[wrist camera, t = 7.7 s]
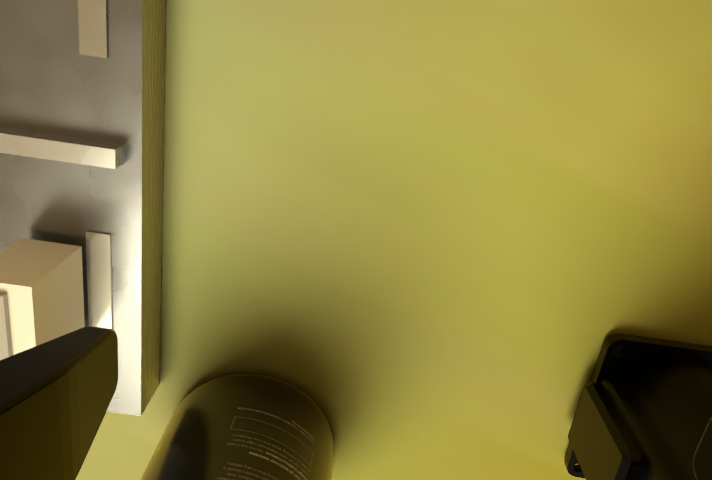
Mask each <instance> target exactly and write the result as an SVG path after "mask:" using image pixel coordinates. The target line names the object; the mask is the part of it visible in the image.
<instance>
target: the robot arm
mask: <svg viewBox="0 0 712 480" xmlns="http://www.w3.org/2000/svg"><path fill="white" fill-rule="evenodd" d="M620 345H623V348H622V349H621V350H619V351H614V349H615V348H616V347H617V346H620ZM117 383H118V338H117V334H116V332H115V331H114V330H113V329H108V328H101V327H94V326H86V327H83V328H80V329H78V330H75V331H73V332H70V333H68V334H65V335H63V336H60V337H58V338H55V339H53V340H50V341H48V342H45V343H43V344H40V345H38V346H35V347H33V348H30V349H28V350H25V351H23V352H20V353H17V354H15V355H12V356H10V357H7V358H5V359H2V360H0V480H75V479H76V477H77V475H78V473H79V471H80V468H81V466H82V464H83V462H84V460H85V458H86V455H87V453H88V451H89V449H90V446H91V444H92V442H93V440H94V438H95V435H96V433H97V431H98V429H99V426H100V424H101V422H102V420H103V418H104V415H105V413H106V411H107V409H108V407H109V404H110V402H111V400H112V398H113V395H114V393H115V390H116V387H117ZM568 439H569V441H570V444H569V447H568V450H567V453H566V456H565V461H564V463H565V465H566V468H567V470H568V472H569V474H571V475H572V476H575V477H580V478H586V480H712V347H709V346H702V345H695V344H688V343H681V342H674V341H667V340H659V339H652V338H645V337H638V336H631V335H624V334H614V335H612V336H610V337H608V338H607V339H606V340H605V342H604V344H603V347H602V350H601V353H600V355H599V358H598V361H597V364H596V367H595V370H594V373H593V376H592V379H591V382H590V383H588V384H587V385H586V386H585V387H584V389H583V392H582V395H581V398H580V401H579V404H578V407H577V410H576V413H575V416H574V419H573V422H572V425H571V428H570V431H569V434H568ZM576 463H579V465H575V464H576Z"/></svg>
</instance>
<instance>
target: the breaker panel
mask: <svg viewBox="0 0 712 480" xmlns="http://www.w3.org/2000/svg"><path fill="white" fill-rule="evenodd" d="M165 30H166V0H0V251H1V250H2V249H4V248H5V247H7V246H8V245H10V244H11V243H13V242H14V241H16V240H17V239H19V238H26V239H33V240H40V241H47V242H54V243H61V244H68V245H75V246H82V268H83V295H84V322H85V327H86V326H94V327H101V328H108V329H113V330H114V331H115V332H116V334H117V338H118V383H117V387H116V390H115V393H114V395H113V398H112V400H111V402H110V404H109V407H108V409H107V412H115V413H122V414H129V415H137V416H141V415H142V413H143V412H144V410H145V408H146V407H147V405H148V403H149V401H150V400H151V398H152V396H153V394H154V393H155V391H156V389H157V388H158V386H159V379H160V321H161V263H162V205H163V147H164V88H165Z"/></svg>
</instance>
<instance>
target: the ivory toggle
mask: <svg viewBox="0 0 712 480" xmlns="http://www.w3.org/2000/svg"><path fill="white" fill-rule="evenodd" d="M83 327H85V322H84V295H83V268H82V246H75V245H68V244H61V243H54V242H47V241H40V240H33V239H26V238H19V239H17V240H16V241H14V242H13V243H11V244H10V245H8V246H7V247H5V248H4V249H2V250H1V251H0V360H2V359H5V358H7V357H10V356H12V355H15V354H17V353H20V352H23V351H25V350H28V349H30V348H33V347H35V346H38V345H40V344H43V343H45V342H48V341H50V340H53V339H55V338H58V337H60V336H63V335H65V334H68V333H70V332H73V331H75V330H78V329H80V328H83Z"/></svg>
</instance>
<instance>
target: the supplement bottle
mask: <svg viewBox="0 0 712 480" xmlns="http://www.w3.org/2000/svg"><path fill="white" fill-rule="evenodd" d="M333 456H334V444H333V437H332V433H331V429H330V427H329V424H328V422H327V420H326V418H325V416H324V414H323V413H322V411H321V410H320V409H319V408H318V406H317V405H316V404H315V403H314V402H313V401H312V400H311V399H310V398H309V397H308V396H307V395H306V394H304V393H303V392H302V391H300V390H299V389H297V388H295V387H294V386H292V385H290V384H288V383H286V382H284V381H281V380H278V379H275V378H272V377H268V376H263V375H257V374H234V375H228V376H223V377H219V378H216V379H213V380H211V381H209V382H206V383H204V384H202V385H201V386H199V387H198V388H196V389H195V390H193V391H192V392H191V393H190V394H189V395H187V396H186V397H185V399H184V400H183V401H182V402H181V403H180V405H179V406H178V408H177V409H176V411H175V412H174V414H173V416H172V418H171V420H170V422H169V424H168V426H167V428H166V429H165V431H164V433H163V435H162V437H161V439H160V441H159V443H158V445H157V447H156V449H155V452H154V454H153V456H152V458H151V460H150V462H149V464H148V466H147V468H146V470H145V472H144V474H143V476H142V478H141V480H331V477H332V467H333Z"/></svg>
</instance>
